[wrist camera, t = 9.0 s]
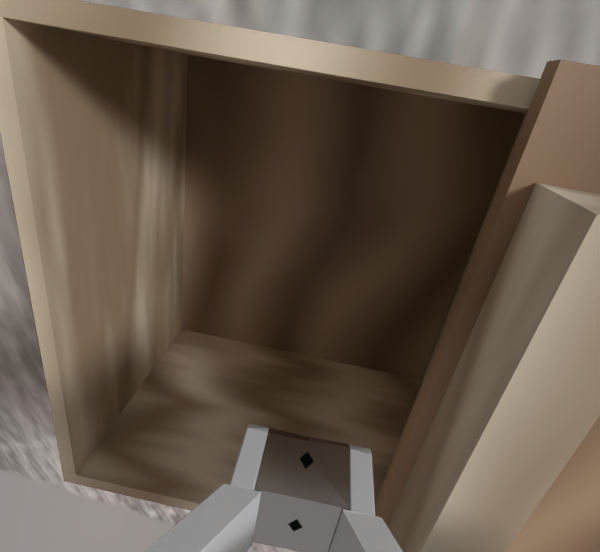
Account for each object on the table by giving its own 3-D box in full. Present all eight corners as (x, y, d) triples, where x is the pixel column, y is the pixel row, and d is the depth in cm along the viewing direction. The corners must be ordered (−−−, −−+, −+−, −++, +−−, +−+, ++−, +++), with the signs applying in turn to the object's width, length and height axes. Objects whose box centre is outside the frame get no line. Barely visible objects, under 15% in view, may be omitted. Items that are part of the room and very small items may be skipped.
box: (176, 329, 28) (64, 481, 17) (181, 40, 20) (-27, -18, 9) (426, 382, 27) (473, 576, 16) (538, 101, 19) (776, 119, 8)
